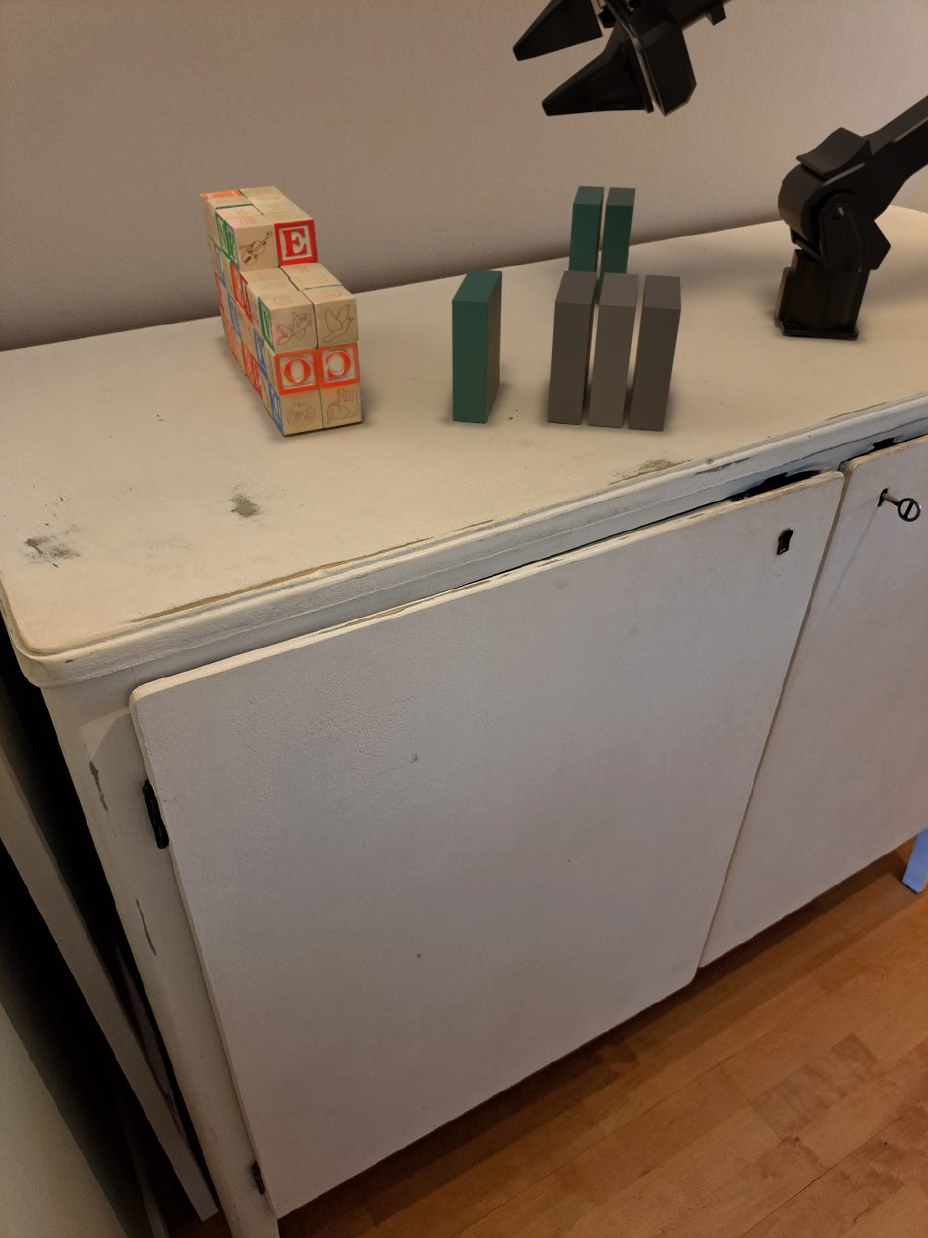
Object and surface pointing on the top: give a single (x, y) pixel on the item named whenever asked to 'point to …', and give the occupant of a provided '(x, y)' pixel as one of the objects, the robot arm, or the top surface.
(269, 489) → the top surface
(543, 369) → the top surface
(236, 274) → the stack of blocks
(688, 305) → the top surface
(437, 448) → the top surface
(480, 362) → the teal book
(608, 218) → the teal books
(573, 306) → the grey books
